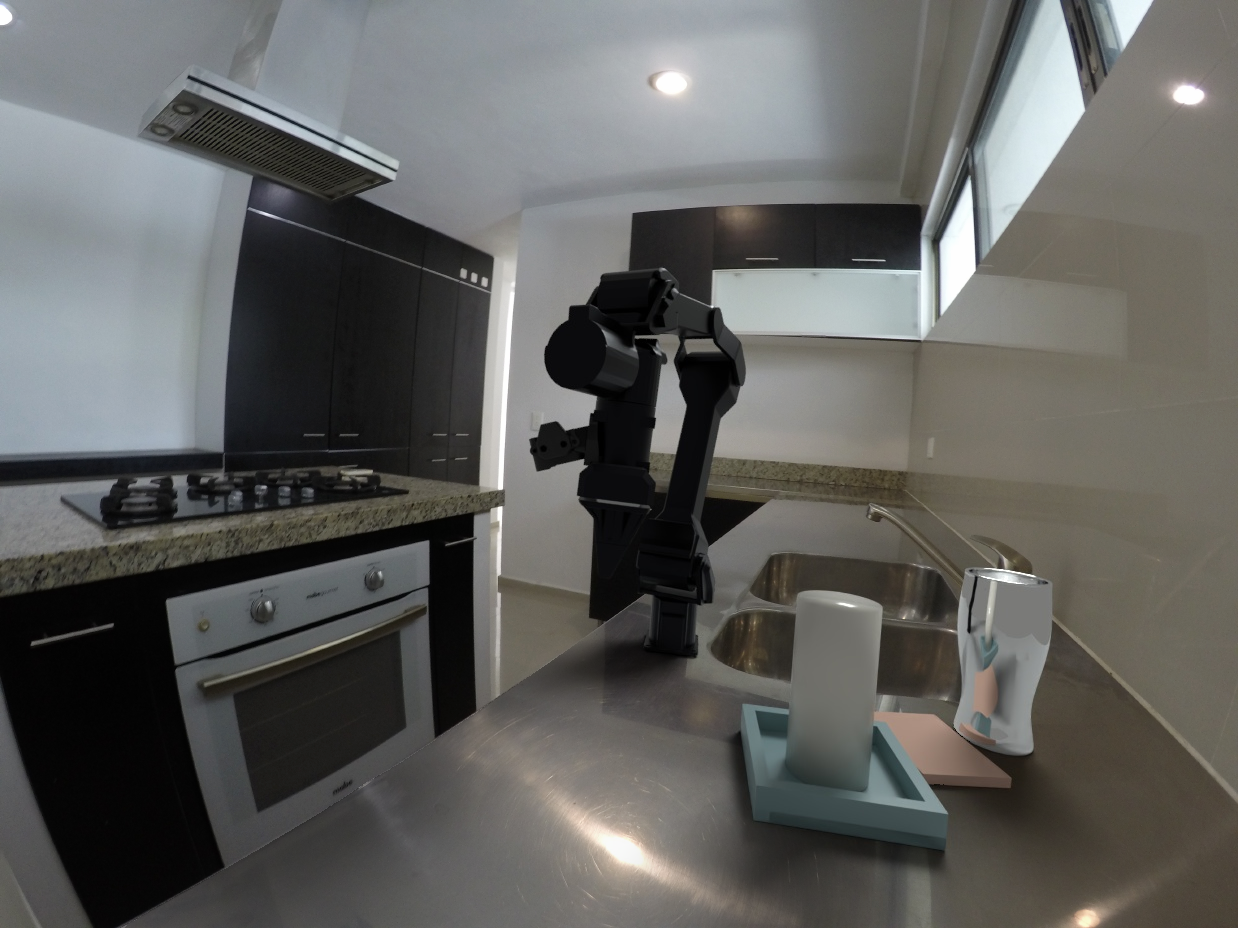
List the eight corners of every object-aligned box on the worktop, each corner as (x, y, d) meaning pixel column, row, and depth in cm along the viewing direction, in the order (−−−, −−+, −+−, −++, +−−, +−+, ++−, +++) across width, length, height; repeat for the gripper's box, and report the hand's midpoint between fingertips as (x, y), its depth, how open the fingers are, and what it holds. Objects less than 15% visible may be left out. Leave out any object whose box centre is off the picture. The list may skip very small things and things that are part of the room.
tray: (740, 729, 49) (742, 703, 49) (883, 749, 47) (885, 721, 47) (753, 819, 37) (756, 785, 37) (945, 850, 35) (948, 813, 35)
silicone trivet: (861, 718, 53) (862, 710, 53) (933, 722, 53) (934, 714, 53) (922, 783, 43) (923, 773, 43) (1010, 787, 43) (1011, 777, 43)
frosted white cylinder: (779, 743, 46) (791, 587, 45) (855, 753, 45) (868, 594, 44) (792, 787, 40) (805, 608, 39) (880, 799, 39) (895, 616, 38)
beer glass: (997, 762, 46) (1014, 585, 46) (930, 721, 53) (944, 566, 53) (1059, 755, 48) (1076, 585, 48) (987, 716, 55) (1001, 566, 54)
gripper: (553, 400, 62) (536, 537, 63) (525, 384, 43) (502, 580, 44) (651, 412, 62) (634, 549, 63) (667, 402, 43) (641, 597, 44)
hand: (605, 565), depth 53 cm, fingers open, 9 cm apart
